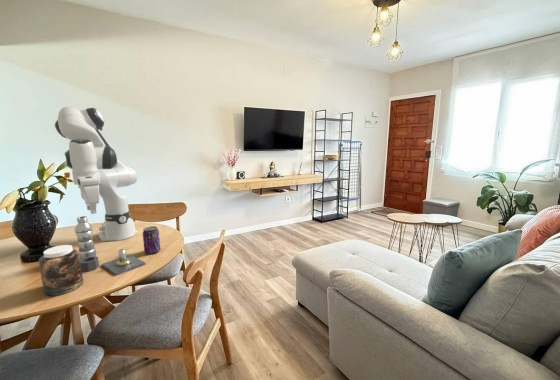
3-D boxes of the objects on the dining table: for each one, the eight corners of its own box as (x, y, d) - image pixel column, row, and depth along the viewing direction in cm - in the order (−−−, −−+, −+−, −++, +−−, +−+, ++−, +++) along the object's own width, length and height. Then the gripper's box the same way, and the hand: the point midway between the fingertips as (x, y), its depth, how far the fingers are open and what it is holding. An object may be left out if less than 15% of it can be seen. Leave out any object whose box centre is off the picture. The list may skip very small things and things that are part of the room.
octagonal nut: (77, 269, 113) (76, 260, 112) (95, 263, 118) (94, 255, 117) (83, 273, 109) (81, 264, 108) (100, 267, 114) (99, 258, 113)
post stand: (101, 266, 115) (99, 250, 114) (130, 256, 125) (129, 242, 123) (115, 275, 107) (113, 259, 106) (145, 264, 116) (143, 249, 115)
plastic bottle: (86, 263, 118) (79, 220, 114) (75, 261, 120) (69, 218, 117) (100, 257, 124) (94, 216, 120) (90, 255, 126) (84, 214, 123)
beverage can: (154, 255, 126) (151, 231, 124) (141, 254, 127) (138, 230, 125) (163, 249, 133) (161, 226, 131) (151, 248, 134) (148, 225, 132)
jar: (38, 290, 97) (31, 251, 94) (75, 276, 107) (70, 241, 104) (51, 299, 91) (44, 258, 88) (89, 284, 101) (84, 247, 98)
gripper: (74, 178, 115) (79, 209, 117) (80, 182, 100) (86, 217, 102) (91, 176, 119) (96, 206, 121) (100, 180, 104) (105, 214, 107)
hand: (91, 211), depth 112 cm, fingers open, 8 cm apart
